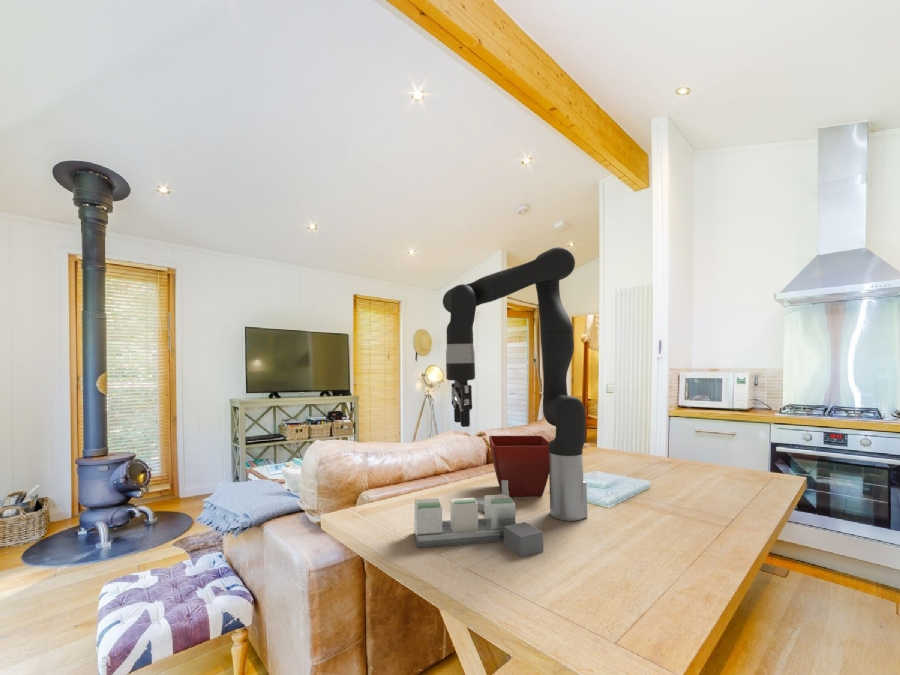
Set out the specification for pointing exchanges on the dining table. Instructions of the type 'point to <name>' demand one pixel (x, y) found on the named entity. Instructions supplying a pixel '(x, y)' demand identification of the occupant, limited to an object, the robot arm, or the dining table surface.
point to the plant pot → (521, 463)
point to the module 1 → (464, 515)
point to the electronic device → (504, 491)
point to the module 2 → (523, 539)
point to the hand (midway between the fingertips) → (461, 424)
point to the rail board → (440, 533)
